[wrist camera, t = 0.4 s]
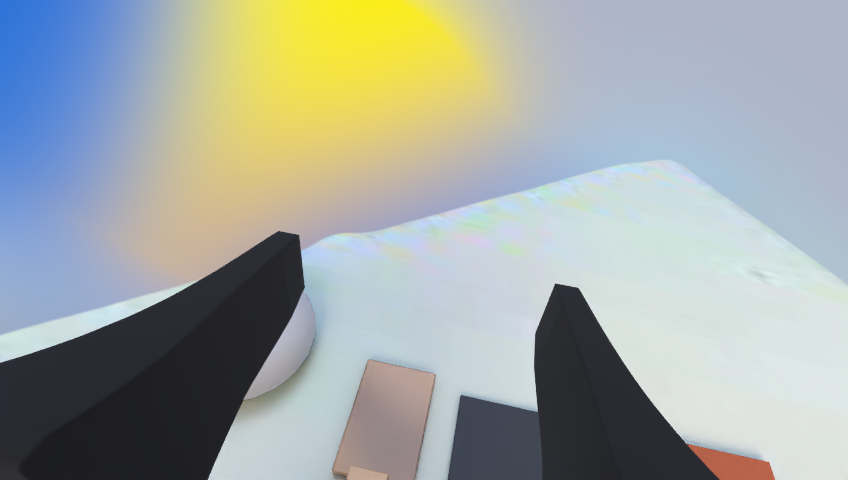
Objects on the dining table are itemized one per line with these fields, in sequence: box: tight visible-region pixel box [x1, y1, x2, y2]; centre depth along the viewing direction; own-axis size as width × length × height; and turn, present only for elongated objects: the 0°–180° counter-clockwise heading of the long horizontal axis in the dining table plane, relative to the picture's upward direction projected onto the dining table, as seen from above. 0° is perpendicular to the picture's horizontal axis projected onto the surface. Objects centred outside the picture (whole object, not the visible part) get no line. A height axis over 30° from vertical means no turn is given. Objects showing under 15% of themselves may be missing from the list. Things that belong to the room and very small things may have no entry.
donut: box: [244, 292, 315, 400], centre depth 30 cm, size 10×4×10 cm
